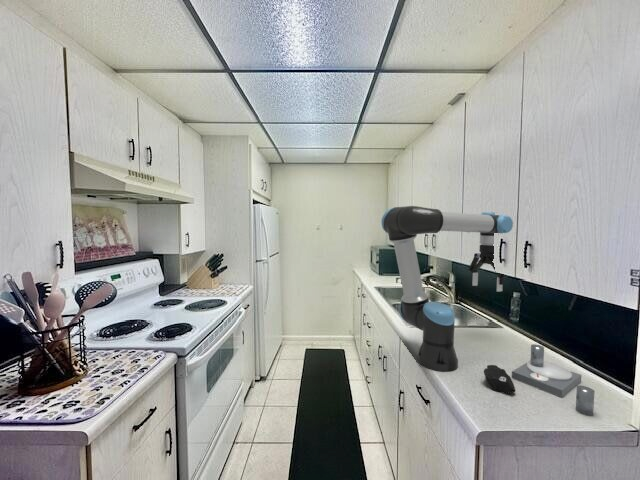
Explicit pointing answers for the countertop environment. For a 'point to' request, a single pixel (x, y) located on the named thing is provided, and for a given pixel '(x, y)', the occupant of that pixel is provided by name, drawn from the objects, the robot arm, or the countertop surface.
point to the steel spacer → (585, 400)
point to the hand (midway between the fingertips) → (486, 288)
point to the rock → (499, 379)
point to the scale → (547, 378)
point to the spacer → (537, 355)
